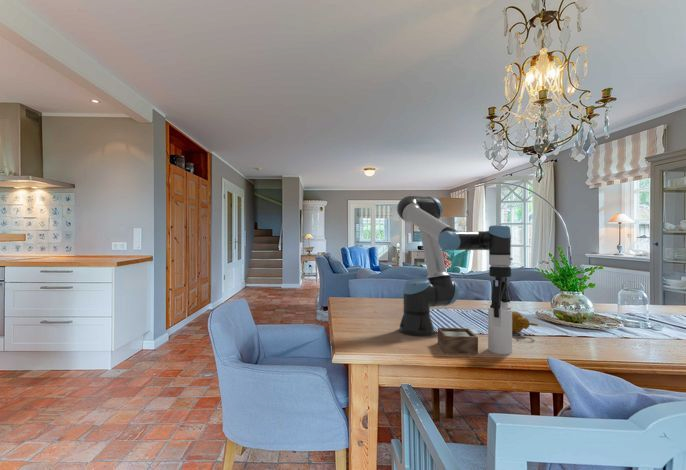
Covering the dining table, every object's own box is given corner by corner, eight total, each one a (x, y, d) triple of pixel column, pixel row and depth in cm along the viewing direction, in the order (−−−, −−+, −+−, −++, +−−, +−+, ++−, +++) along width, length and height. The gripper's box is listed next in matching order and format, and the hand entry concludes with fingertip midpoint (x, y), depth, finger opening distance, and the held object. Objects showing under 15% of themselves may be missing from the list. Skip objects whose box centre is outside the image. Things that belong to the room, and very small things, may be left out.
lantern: (481, 327, 163) (528, 334, 140) (482, 308, 165) (529, 312, 142) (495, 329, 166) (543, 337, 144) (496, 311, 168) (544, 315, 145)
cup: (514, 355, 123) (514, 311, 123) (490, 353, 125) (490, 309, 125) (508, 347, 131) (508, 306, 131) (486, 346, 133) (486, 305, 133)
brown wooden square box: (444, 353, 125) (444, 336, 125) (437, 343, 137) (437, 327, 137) (477, 354, 124) (477, 337, 124) (468, 343, 136) (468, 328, 136)
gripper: (504, 268, 116) (505, 331, 115) (516, 264, 136) (517, 317, 136) (481, 267, 120) (482, 328, 120) (496, 263, 141) (496, 315, 140)
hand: (500, 322), depth 128 cm, fingers open, 13 cm apart
